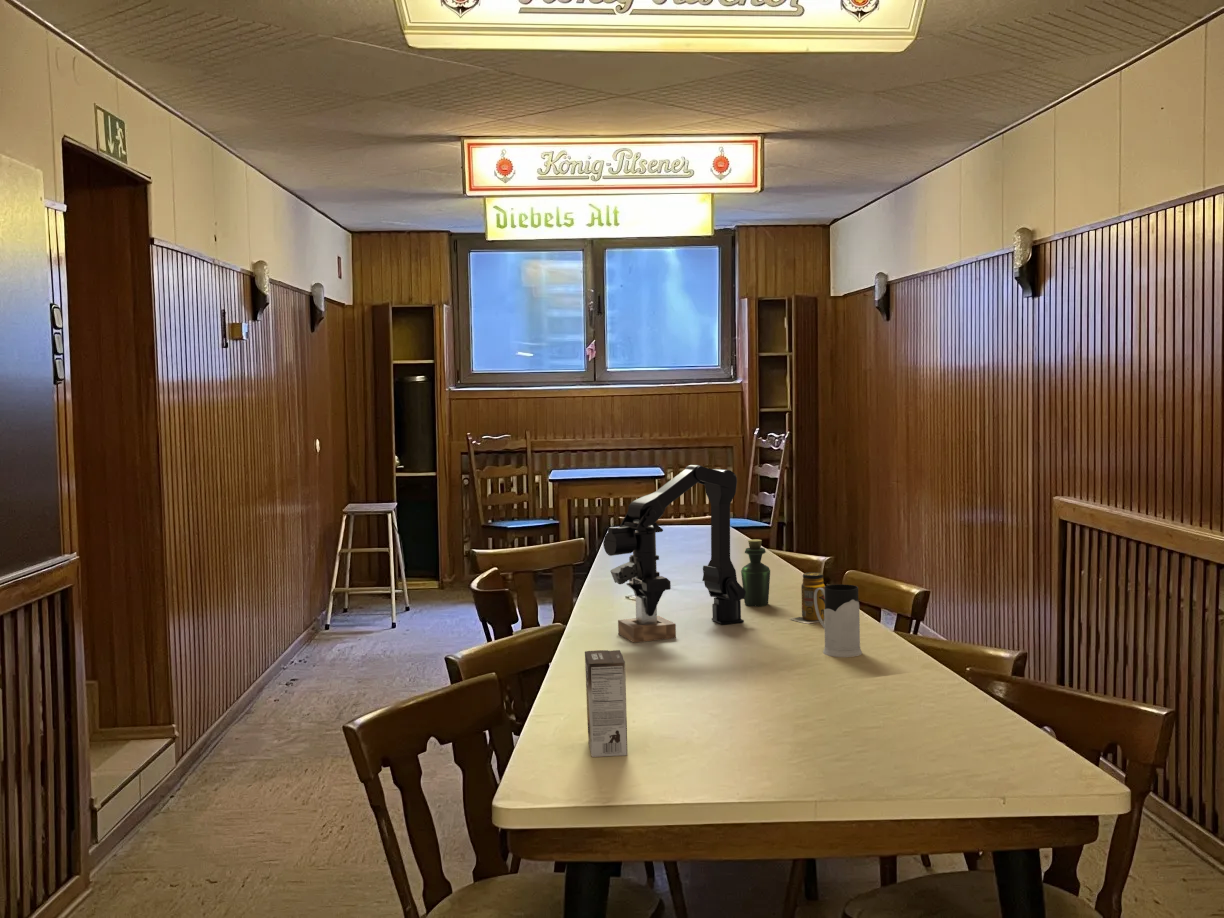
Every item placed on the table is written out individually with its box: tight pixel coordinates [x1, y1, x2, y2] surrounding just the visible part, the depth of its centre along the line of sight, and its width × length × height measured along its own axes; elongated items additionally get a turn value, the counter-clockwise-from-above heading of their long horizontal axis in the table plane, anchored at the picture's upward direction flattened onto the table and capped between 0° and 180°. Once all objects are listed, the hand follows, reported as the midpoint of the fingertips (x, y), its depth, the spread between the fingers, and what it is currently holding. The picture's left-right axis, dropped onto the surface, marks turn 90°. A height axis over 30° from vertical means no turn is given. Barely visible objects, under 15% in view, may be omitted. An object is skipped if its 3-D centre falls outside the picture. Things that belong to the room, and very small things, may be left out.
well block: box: [617, 615, 677, 643], centre depth 281 cm, size 11×11×4 cm
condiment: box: [789, 572, 826, 624], centre depth 294 cm, size 7×8×12 cm
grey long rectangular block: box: [635, 595, 658, 625], centre depth 281 cm, size 4×4×10 cm
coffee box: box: [584, 649, 628, 758], centre depth 195 cm, size 9×6×16 cm
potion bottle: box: [740, 538, 771, 607], centre depth 317 cm, size 8×8×18 cm
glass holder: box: [814, 583, 863, 658], centre depth 260 cm, size 9×14×15 cm, turn 27°
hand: (646, 613), depth 281 cm, fingers open, 5 cm apart
